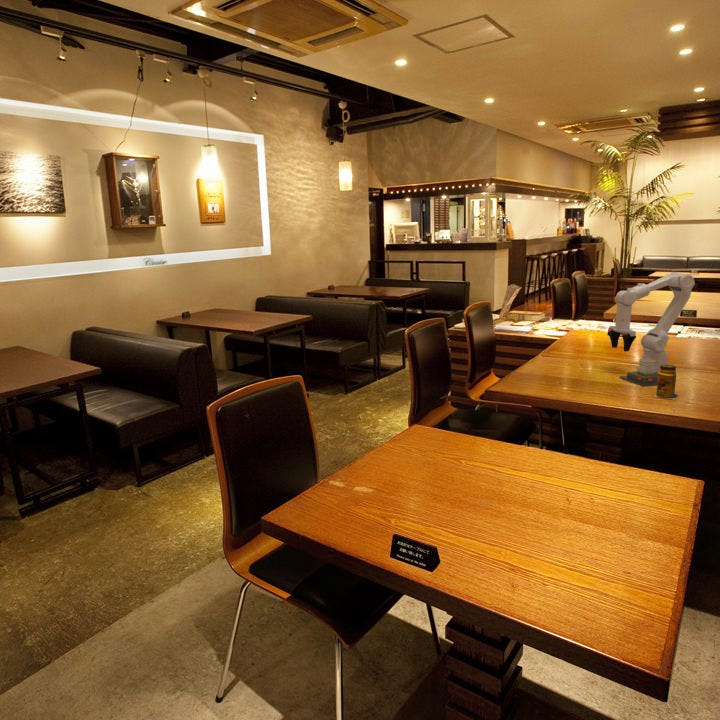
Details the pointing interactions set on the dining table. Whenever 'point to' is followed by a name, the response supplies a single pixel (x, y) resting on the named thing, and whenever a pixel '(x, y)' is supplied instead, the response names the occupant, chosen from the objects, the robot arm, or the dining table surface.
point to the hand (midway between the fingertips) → (620, 349)
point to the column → (646, 366)
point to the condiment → (666, 382)
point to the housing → (641, 379)
